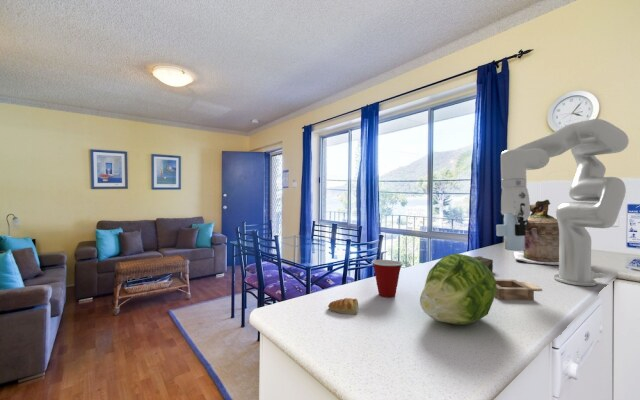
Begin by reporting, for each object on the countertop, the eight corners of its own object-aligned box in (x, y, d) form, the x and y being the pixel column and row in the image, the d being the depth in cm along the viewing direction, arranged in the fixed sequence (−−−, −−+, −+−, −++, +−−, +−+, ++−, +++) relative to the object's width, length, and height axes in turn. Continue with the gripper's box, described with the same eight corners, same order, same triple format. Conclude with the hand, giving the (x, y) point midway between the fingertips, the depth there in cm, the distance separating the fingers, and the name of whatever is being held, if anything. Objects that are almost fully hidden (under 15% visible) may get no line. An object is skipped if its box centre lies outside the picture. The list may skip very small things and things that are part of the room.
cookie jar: (568, 258, 153) (568, 198, 152) (579, 268, 132) (580, 199, 132) (513, 253, 166) (513, 198, 166) (515, 262, 145) (515, 199, 145)
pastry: (327, 314, 86) (327, 302, 86) (329, 306, 92) (329, 294, 92) (358, 315, 84) (358, 303, 84) (358, 307, 91) (358, 295, 91)
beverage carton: (494, 272, 128) (494, 258, 128) (463, 278, 120) (463, 262, 120) (477, 268, 135) (477, 254, 135) (447, 273, 127) (447, 259, 127)
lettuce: (399, 314, 85) (399, 260, 80) (449, 288, 96) (452, 238, 91) (456, 356, 70) (461, 291, 65) (508, 319, 81) (516, 261, 76)
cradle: (514, 288, 106) (514, 279, 105) (533, 300, 95) (533, 289, 95) (483, 288, 107) (483, 279, 106) (498, 299, 96) (498, 288, 96)
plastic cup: (405, 291, 104) (405, 259, 104) (400, 302, 94) (400, 265, 94) (375, 287, 109) (375, 256, 108) (368, 297, 99) (367, 262, 99)
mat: (528, 283, 112) (528, 281, 112) (542, 290, 104) (542, 288, 104) (506, 283, 112) (506, 281, 112) (518, 289, 104) (518, 288, 104)
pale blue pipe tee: (531, 250, 100) (531, 213, 99) (502, 251, 101) (501, 214, 100) (521, 247, 106) (520, 212, 105) (493, 247, 107) (492, 213, 106)
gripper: (541, 183, 94) (542, 237, 94) (510, 184, 111) (511, 230, 111) (517, 184, 94) (518, 238, 95) (490, 185, 111) (491, 231, 112)
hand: (514, 233), depth 103 cm, fingers closed on pale blue pipe tee, 6 cm apart
